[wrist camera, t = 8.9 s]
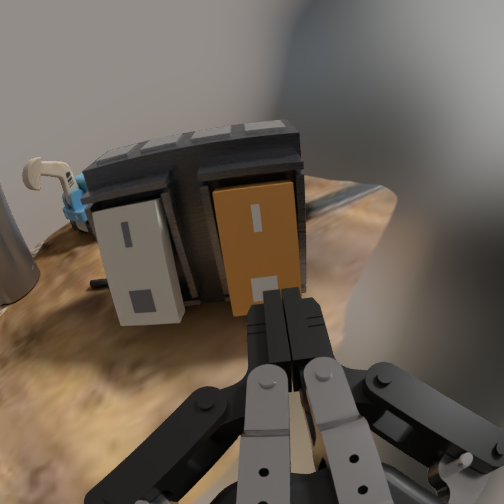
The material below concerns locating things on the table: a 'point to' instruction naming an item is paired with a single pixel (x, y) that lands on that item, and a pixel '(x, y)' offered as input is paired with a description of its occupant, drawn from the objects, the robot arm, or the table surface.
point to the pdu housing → (198, 191)
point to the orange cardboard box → (257, 240)
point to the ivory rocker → (139, 263)
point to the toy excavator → (70, 185)
